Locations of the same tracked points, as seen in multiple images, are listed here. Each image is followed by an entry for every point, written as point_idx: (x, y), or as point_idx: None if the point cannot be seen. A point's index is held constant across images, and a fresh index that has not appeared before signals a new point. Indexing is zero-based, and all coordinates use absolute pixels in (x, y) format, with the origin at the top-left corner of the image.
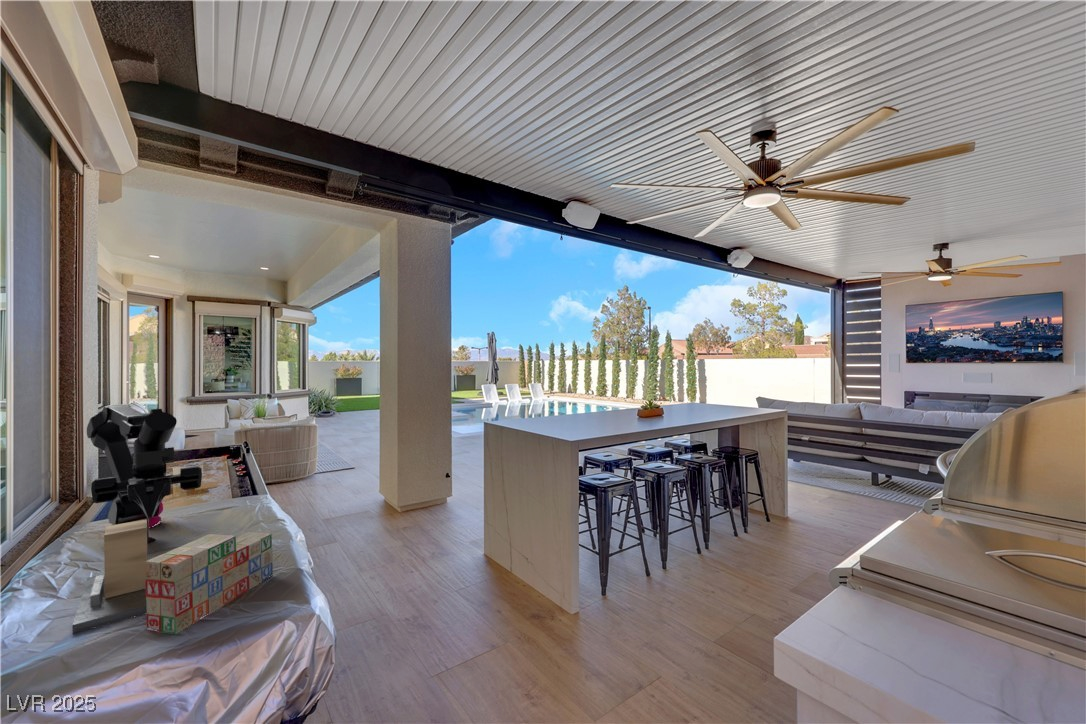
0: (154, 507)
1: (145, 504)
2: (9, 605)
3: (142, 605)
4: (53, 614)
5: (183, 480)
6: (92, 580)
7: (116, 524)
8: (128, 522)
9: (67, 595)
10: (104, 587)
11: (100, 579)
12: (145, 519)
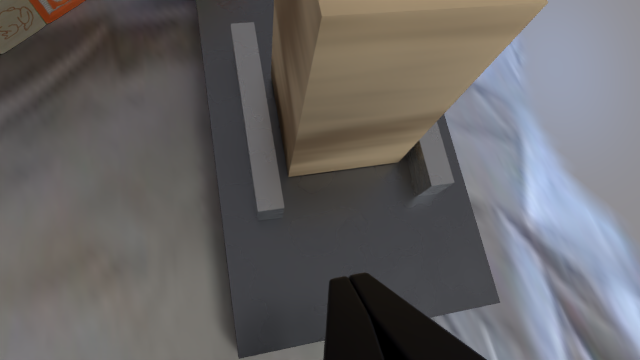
0: (331, 325)
1: (443, 350)
2: (635, 248)
3: None
4: (481, 110)
5: None
6: (471, 261)
7: (500, 8)
8: (433, 4)
9: (508, 237)
10: (406, 164)
11: (425, 136)
12: (330, 11)
